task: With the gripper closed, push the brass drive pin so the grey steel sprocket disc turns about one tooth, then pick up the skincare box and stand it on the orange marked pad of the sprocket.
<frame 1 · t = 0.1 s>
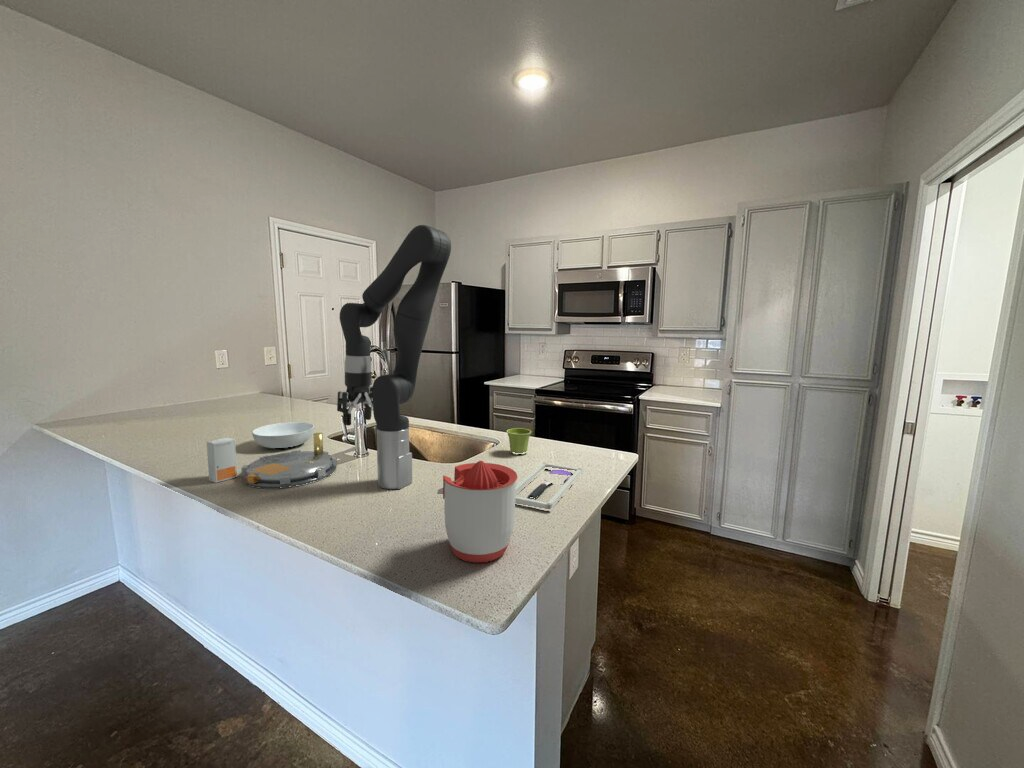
hand: (357, 422, 130), 17 cm above the countertop, tool pointing down, fingers open, 8 cm apart
serving bowl: (284, 446, 162), on the countertop
spatula: (546, 489, 127), resting in utensil tray
plant pot: (518, 453, 160), on the countertop
citrus juicer: (475, 549, 91), on the countertop
sprocket: (290, 455, 132), point 6 cm above the countertop, hinge at 0.0°
utensil tray: (546, 487, 127), on the countertop
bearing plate: (291, 472, 133), on the countertop
skincare box: (223, 479, 127), on the countertop
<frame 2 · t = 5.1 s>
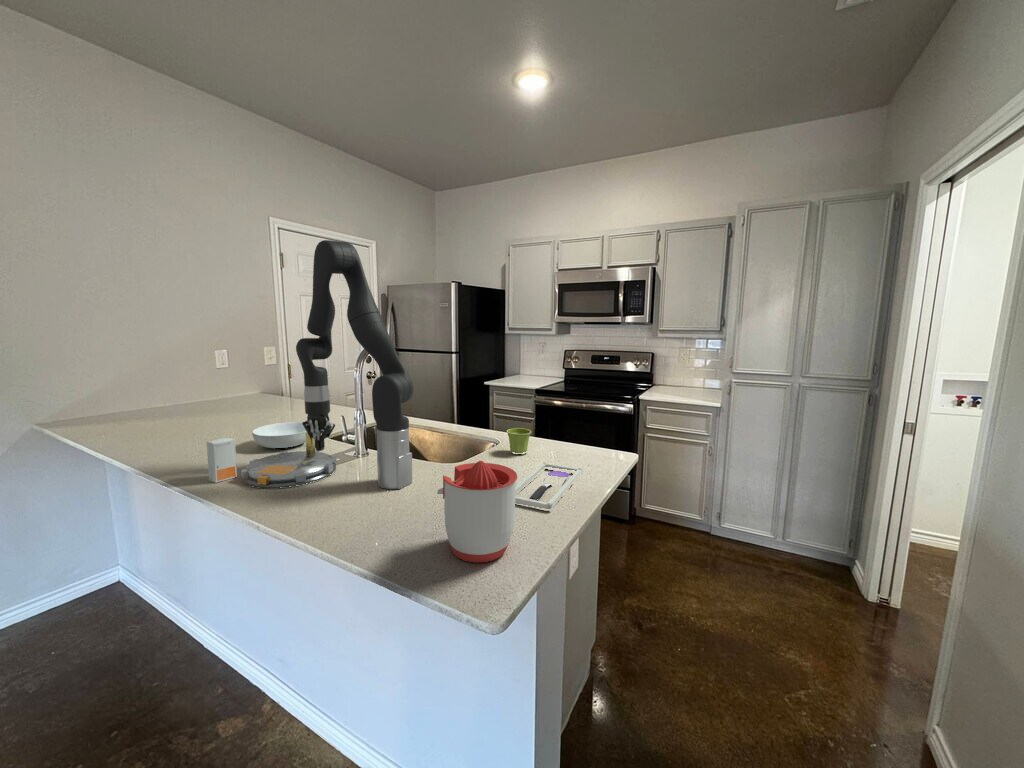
hand: (320, 450, 140), 5 cm above the countertop, tool pointing down, fingers closed
spatula: (545, 491, 125), resting in utensil tray
sprocket: (290, 455, 132), point 6 cm above the countertop, hinge at 17.6°, touching hand
everything else where it was.
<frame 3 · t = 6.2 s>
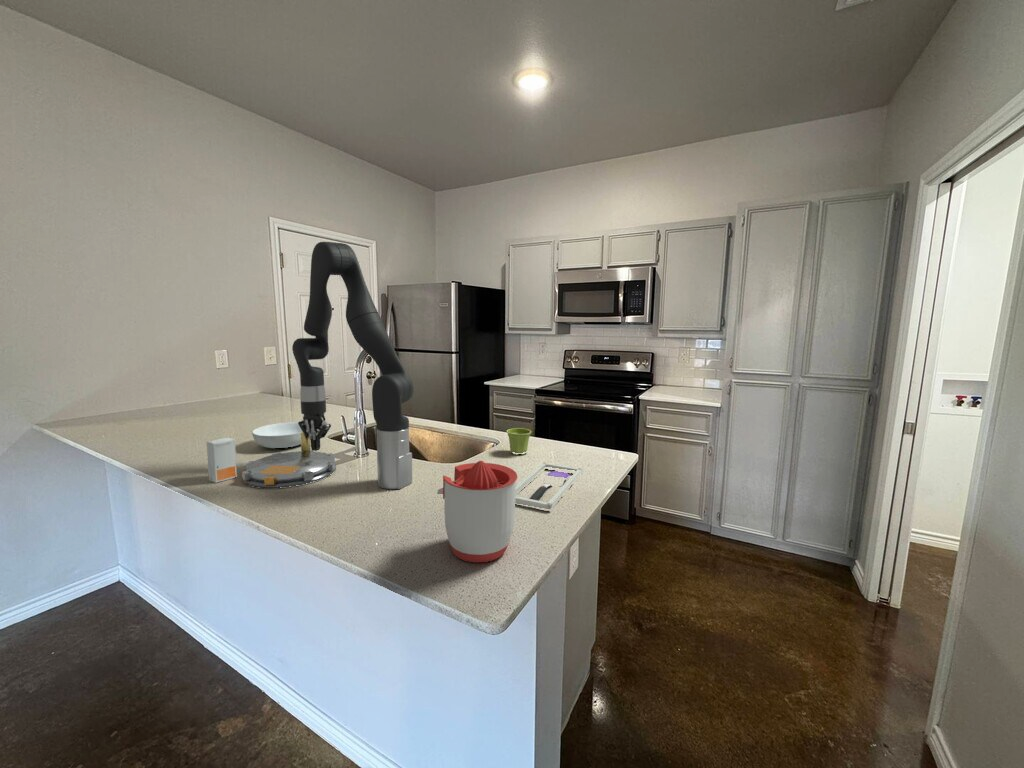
hand: (315, 449, 140), 5 cm above the countertop, tool pointing down, fingers closed
sprocket: (290, 455, 132), point 6 cm above the countertop, hinge at 26.7°, touching hand
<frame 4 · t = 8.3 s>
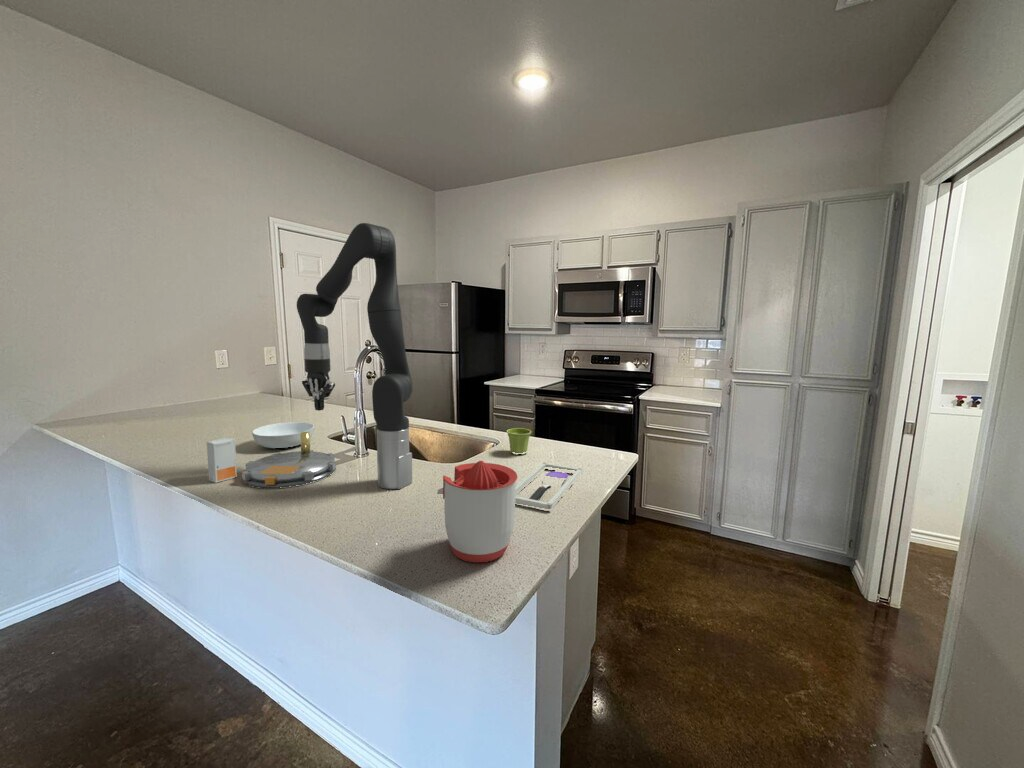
hand: (319, 410, 138), 19 cm above the countertop, tool pointing down, fingers closed
sprocket: (290, 455, 132), point 6 cm above the countertop, hinge at 27.3°
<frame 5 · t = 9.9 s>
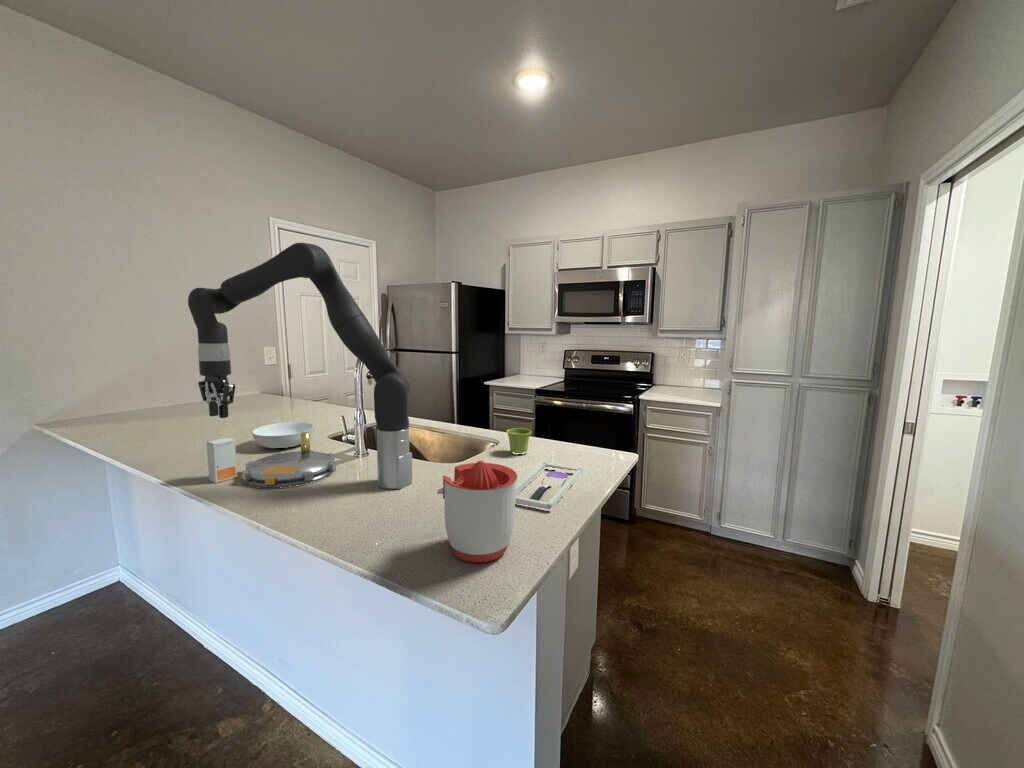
hand: (218, 416, 124), 19 cm above the countertop, tool pointing down, fingers open, 4 cm apart
nothing on the countertop moved.
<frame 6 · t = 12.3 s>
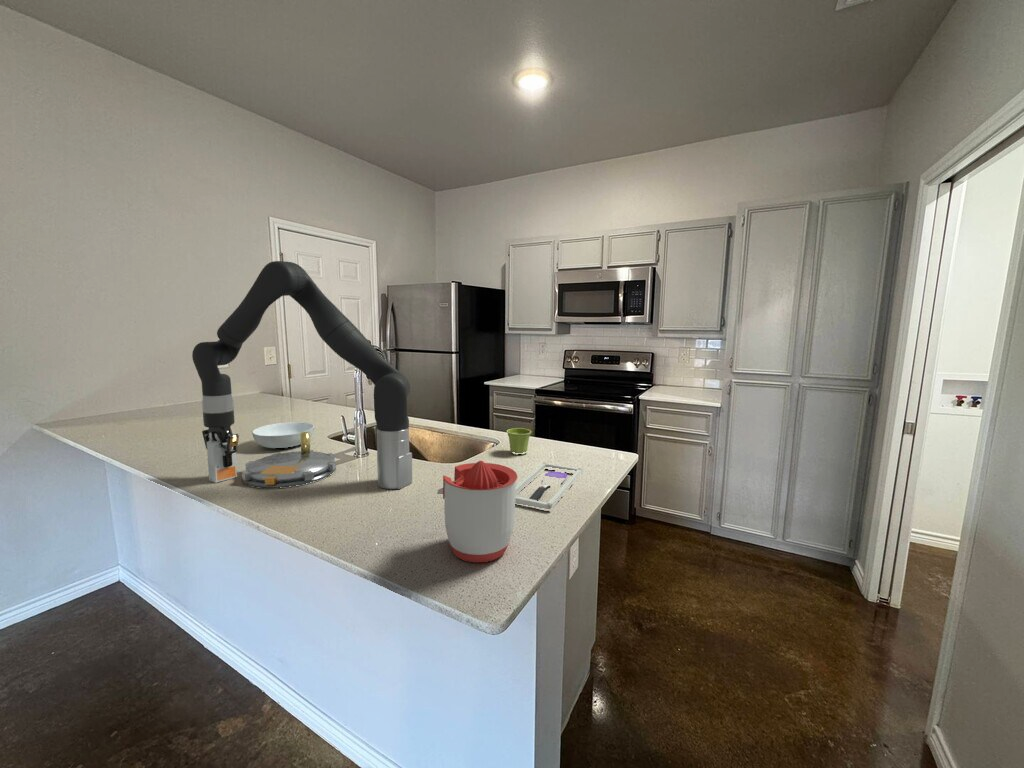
hand: (222, 464, 126), 4 cm above the countertop, tool pointing down, fingers closed on skincare box, 4 cm apart
skincare box: (223, 479, 127), on the countertop, touching gripper
everything else where it was.
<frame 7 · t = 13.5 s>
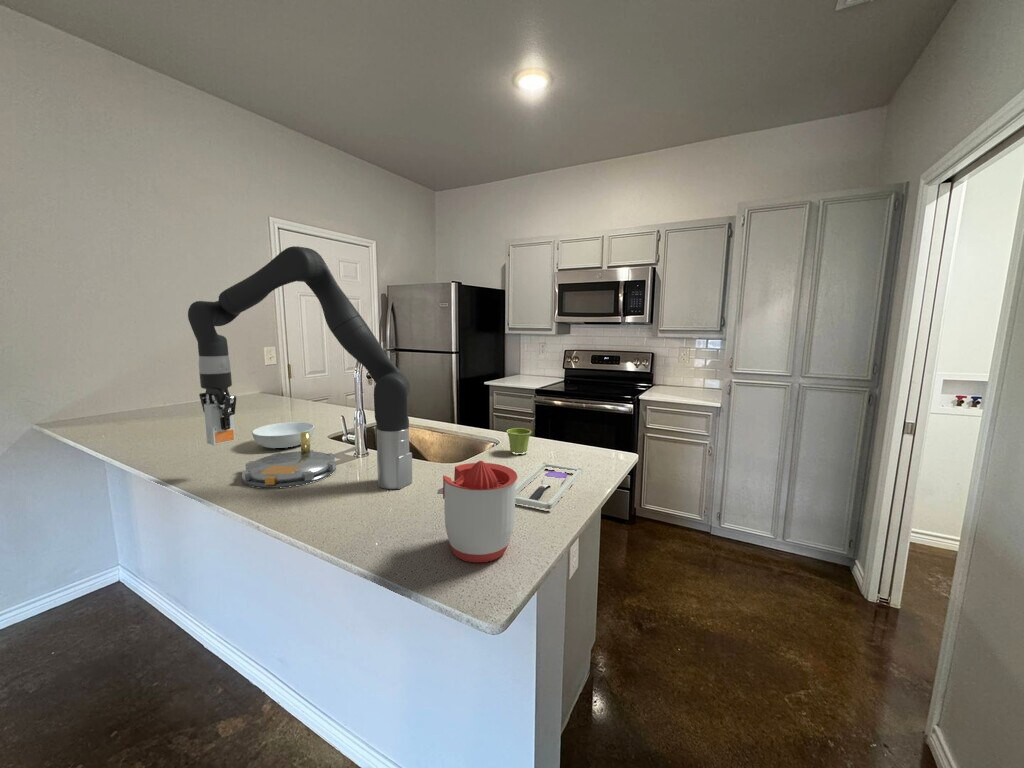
hand: (220, 428, 124), 16 cm above the countertop, tool pointing down, fingers closed on skincare box, 4 cm apart
skincare box: (221, 443, 125), point 11 cm above the countertop, touching gripper
everything else where it was.
when the fingers open (9 cm above the countertop, at t = 17.2 s): skincare box stays where it is, resting on sprocket.
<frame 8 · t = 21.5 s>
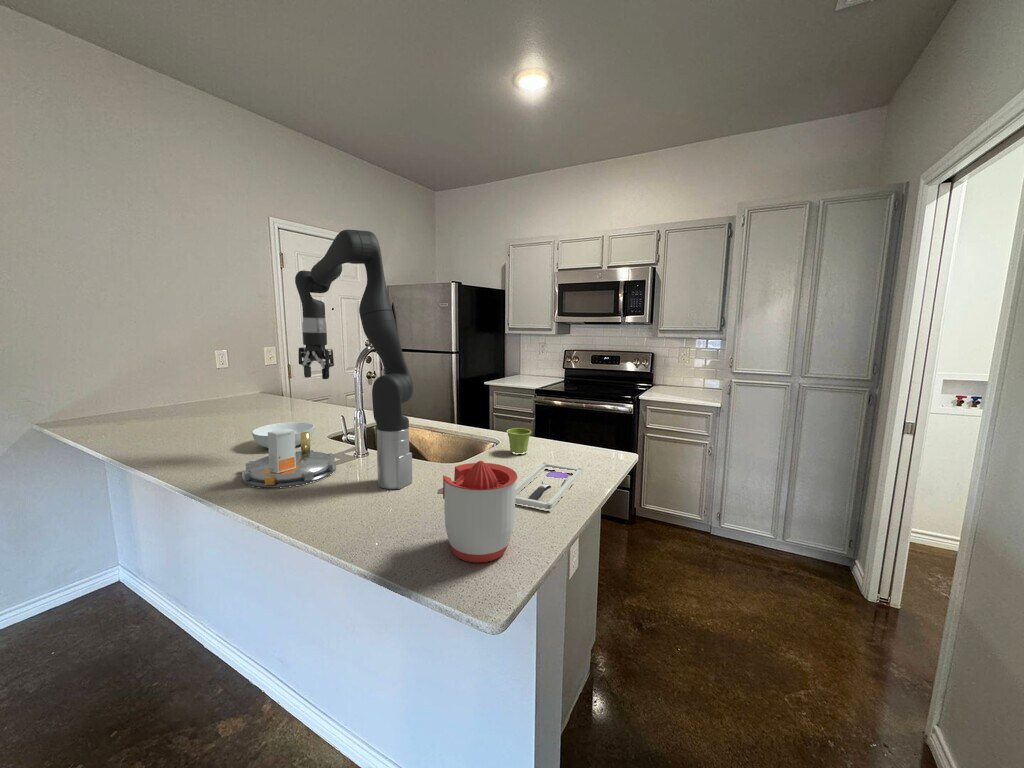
hand: (316, 378, 146), 28 cm above the countertop, tool pointing down, fingers open, 8 cm apart
sprocket: (290, 455, 132), point 6 cm above the countertop, hinge at 27.0°, touching skincare box
skincare box: (283, 470, 126), point 3 cm above the countertop, touching sprocket
everything else where it was.
at the end: sprocket at +27° (first picture: +0°); skincare box inside the target area on the sprocket (0.7 cm from its centre), point 3.1 cm above the sprocket's base; skincare box tilted 0° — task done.
